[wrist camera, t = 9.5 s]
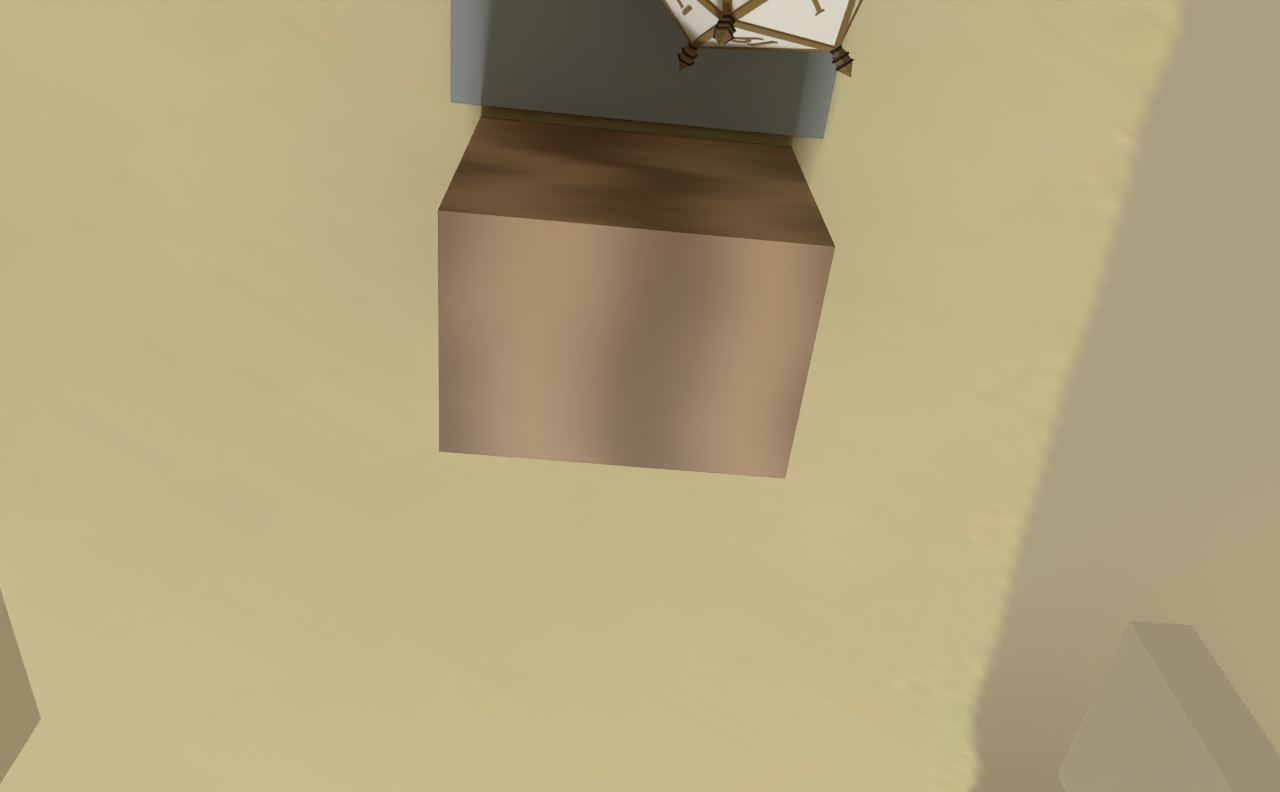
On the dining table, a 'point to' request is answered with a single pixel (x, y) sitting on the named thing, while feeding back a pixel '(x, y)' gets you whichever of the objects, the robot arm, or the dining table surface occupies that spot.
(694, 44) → the game die
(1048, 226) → the dining table surface
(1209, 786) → the robot arm
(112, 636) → the dining table surface
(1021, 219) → the dining table surface
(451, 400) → the cardboard box
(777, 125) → the mat
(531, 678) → the dining table surface
